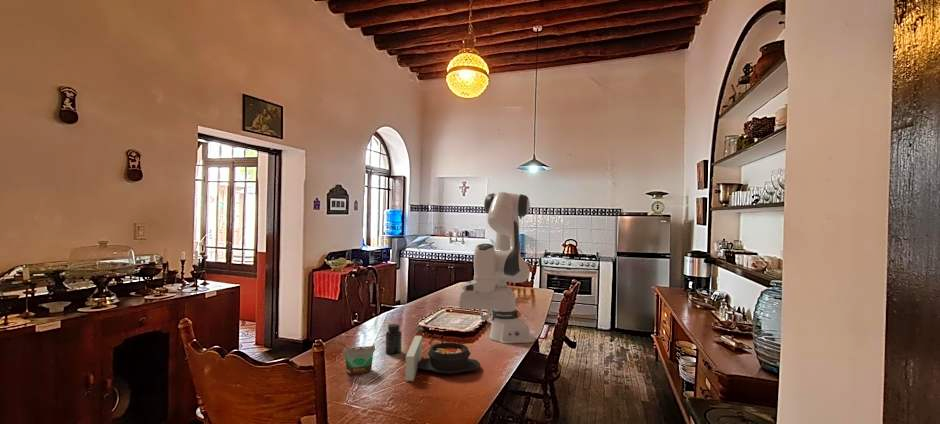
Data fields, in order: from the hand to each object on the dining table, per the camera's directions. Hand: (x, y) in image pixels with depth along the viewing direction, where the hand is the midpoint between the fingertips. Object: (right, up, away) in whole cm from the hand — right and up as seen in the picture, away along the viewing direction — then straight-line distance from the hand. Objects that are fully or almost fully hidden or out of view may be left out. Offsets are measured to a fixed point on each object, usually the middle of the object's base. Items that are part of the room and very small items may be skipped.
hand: (484, 319), depth 175 cm
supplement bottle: (-39, -19, +18) cm, 47 cm away
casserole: (-14, -20, 0) cm, 24 cm away
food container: (-47, -19, -7) cm, 52 cm away
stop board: (-28, -19, 0) cm, 34 cm away
